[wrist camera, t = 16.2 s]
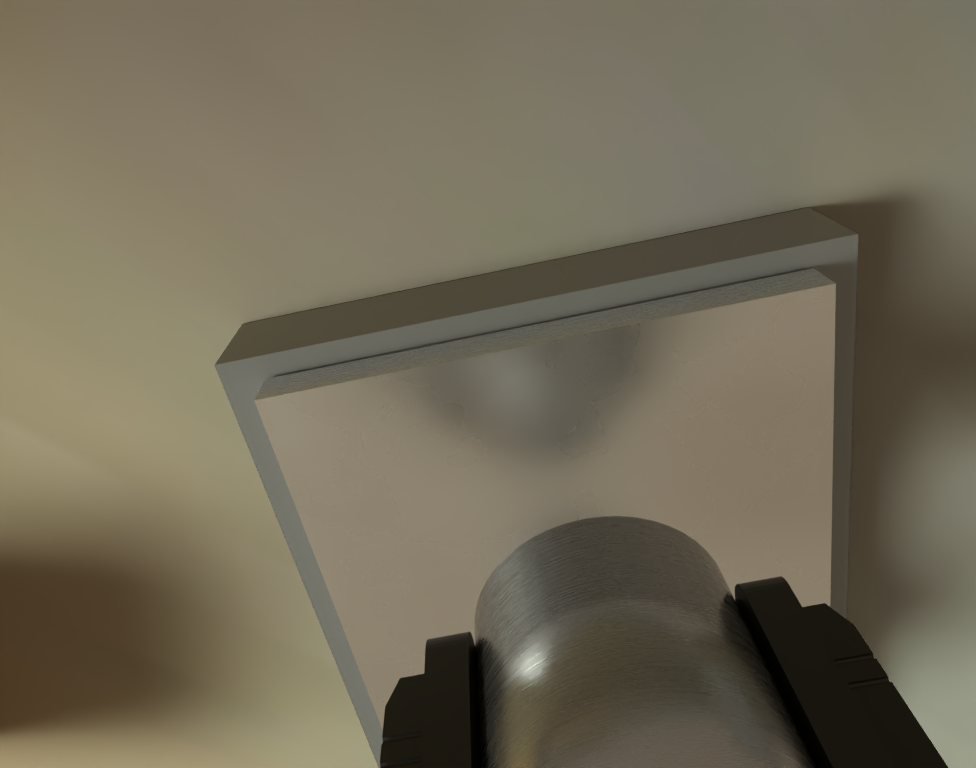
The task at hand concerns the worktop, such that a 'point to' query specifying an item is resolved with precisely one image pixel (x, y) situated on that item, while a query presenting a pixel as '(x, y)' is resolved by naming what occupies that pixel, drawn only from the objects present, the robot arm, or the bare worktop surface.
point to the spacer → (622, 657)
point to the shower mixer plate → (562, 453)
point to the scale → (528, 302)
